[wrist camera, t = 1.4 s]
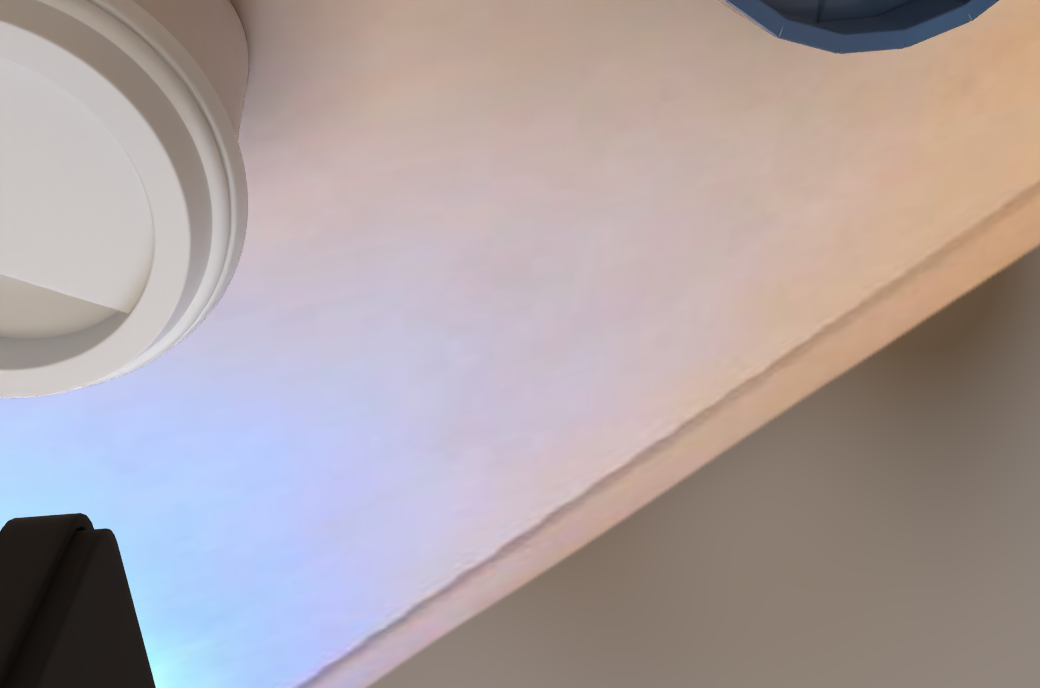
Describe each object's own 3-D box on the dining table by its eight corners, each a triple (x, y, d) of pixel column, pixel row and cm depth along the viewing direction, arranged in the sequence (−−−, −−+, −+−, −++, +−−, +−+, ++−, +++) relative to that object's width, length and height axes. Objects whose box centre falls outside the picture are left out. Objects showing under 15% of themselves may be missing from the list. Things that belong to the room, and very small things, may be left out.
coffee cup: (-77, 51, 31) (-413, 230, 18) (109, -187, 29) (-126, -178, 16) (175, 245, 35) (48, 506, 22) (357, 50, 33) (335, 214, 20)
